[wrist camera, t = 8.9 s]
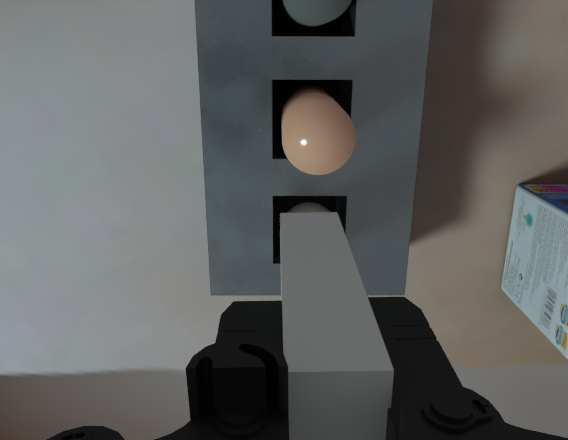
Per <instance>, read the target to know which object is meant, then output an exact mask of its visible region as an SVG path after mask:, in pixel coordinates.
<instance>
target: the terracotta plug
mask: <svg viewBox="0 0 568 440" xmlns="http://www.w3.org/2000/svg"><path fill="white" fill-rule="evenodd" d="M355 142H356V133H355V128H354V124H353V122H352V120H351V118H350V117H349V115H348V114H347V113H346V112H345V111H344V110H343V109H342V108H341V106H340V105H339V104H338V103H337V102H336V101H335V100H334V99H333V98H332V97H331V96H330V95H329V94H328V93H327V92H326V91H325V90H323V89H322V88H320V87H317V86H310V85H308V86H302V87H299V88H297V89H295V90H294V91H292V92H291V93H290V94H289V95H288V96H287V98H286V99H285V101H284V103H283V106H282V145H283V150H284V152H285V155H286V157H287V158H288V160H289V161H290V162H291V163H292V165H294V166H295V167H296V168H297V169H299V170H300V171H303V172H305V173H308V174H312V175H324V174H328V173H331V172H334V171H336V170H337V169H339V168H340V167H342V166H343V165H344V164H345V163H346V162H347V161H348V159H349V158H350V156H351V155H352V153H353V150H354V147H355Z"/></svg>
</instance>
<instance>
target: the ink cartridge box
mask: <svg viewBox="0 0 568 440" xmlns="http://www.w3.org/2000/svg"><path fill="white" fill-rule="evenodd" d="M501 289H502V290H503V291H504V292H505V293H506V294H507V296H508V297H509V298H510V299H511V300H512V301H513V302H514V303H515V304H516V305H517V306H518V307H519V308H520V309H521V310H522V311H523V312H524V314H525V315H526V316H527V317H528V318H529V319H530V320H531V321H532V322H533V323H534V324H535V325H536V326H537V327H538V328H539V329H540V330H541V331H542V332H543V334H544V335H545V336H546V337H547V338H548V339H549V340H550V341H551V342H552V343H553V344H554V345H555V346H556V347H557V348H558V349H559V351H560V352H561V353H562V354H563V355H564V356H565V357H566V358H567V359H568V185H565V184H520V185H518V186H517V188H516V194H515V200H514V207H513V213H512V220H511V226H510V233H509V239H508V246H507V252H506V259H505V265H504V272H503V279H502V285H501Z"/></svg>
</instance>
